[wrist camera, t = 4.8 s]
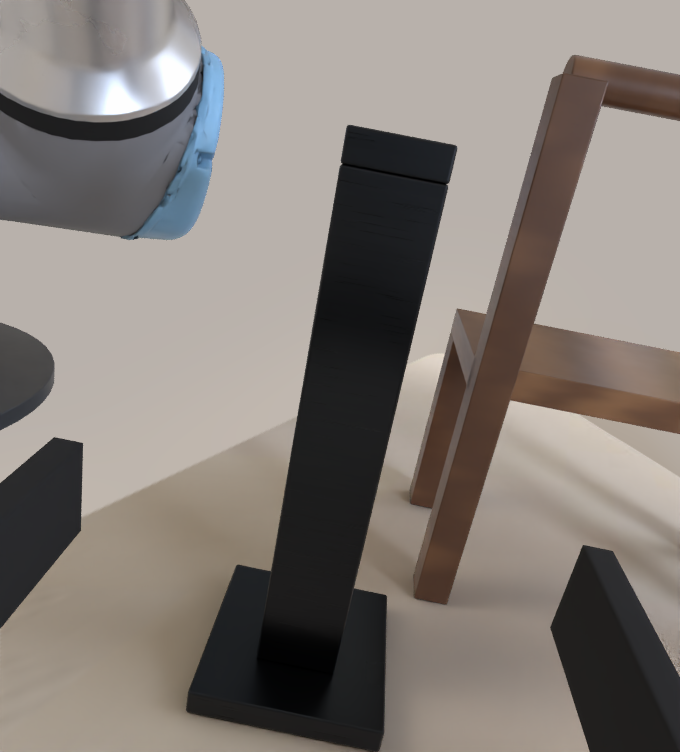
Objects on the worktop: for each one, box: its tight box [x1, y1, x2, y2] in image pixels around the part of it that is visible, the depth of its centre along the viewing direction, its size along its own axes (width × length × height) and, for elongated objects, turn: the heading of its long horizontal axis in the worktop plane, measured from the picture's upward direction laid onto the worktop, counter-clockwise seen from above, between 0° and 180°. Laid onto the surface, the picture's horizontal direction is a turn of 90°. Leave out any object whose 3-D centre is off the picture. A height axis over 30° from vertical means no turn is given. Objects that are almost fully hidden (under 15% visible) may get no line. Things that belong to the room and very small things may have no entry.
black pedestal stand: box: [186, 125, 457, 752], centre depth 23 cm, size 11×7×20 cm, turn 175°
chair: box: [410, 55, 680, 604], centre depth 29 cm, size 20×10×24 cm, turn 85°
